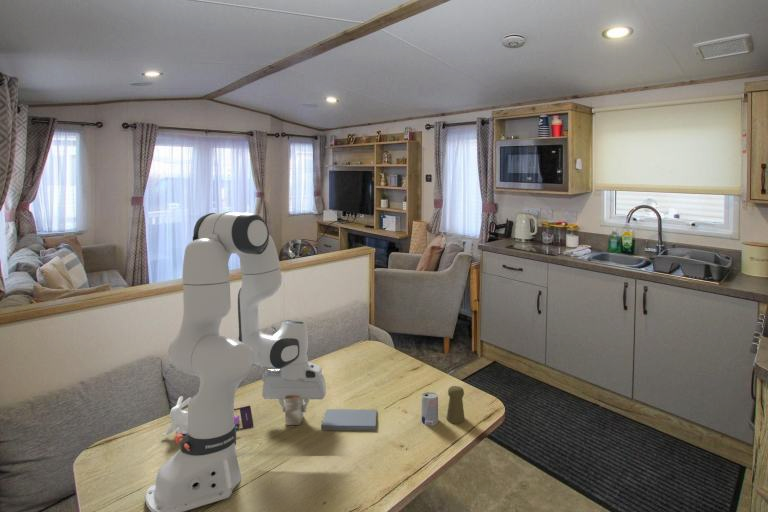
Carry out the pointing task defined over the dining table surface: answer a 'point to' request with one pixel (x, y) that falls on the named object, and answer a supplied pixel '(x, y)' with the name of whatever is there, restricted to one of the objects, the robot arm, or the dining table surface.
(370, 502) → the dining table surface
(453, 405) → the brown pawn shape
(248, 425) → the purple box
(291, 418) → the block
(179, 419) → the rabbit figurine
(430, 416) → the energy drink
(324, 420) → the slate board
